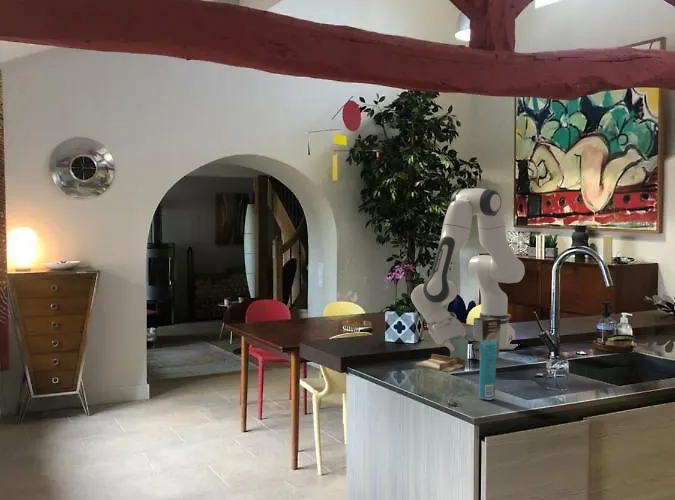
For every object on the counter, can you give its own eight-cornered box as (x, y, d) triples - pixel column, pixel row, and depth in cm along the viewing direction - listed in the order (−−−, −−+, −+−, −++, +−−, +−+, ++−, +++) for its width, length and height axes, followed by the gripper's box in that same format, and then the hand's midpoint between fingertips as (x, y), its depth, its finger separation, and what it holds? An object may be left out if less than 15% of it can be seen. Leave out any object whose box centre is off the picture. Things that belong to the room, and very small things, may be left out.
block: (456, 358, 284) (456, 338, 283) (467, 360, 281) (468, 340, 280) (449, 360, 280) (450, 340, 279) (461, 362, 277) (462, 342, 276)
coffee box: (482, 361, 280) (484, 320, 279) (471, 357, 285) (472, 318, 284) (499, 358, 285) (501, 318, 284) (487, 355, 291) (489, 316, 289)
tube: (487, 395, 233) (490, 337, 231) (499, 398, 229) (502, 339, 227) (472, 399, 228) (475, 339, 226) (484, 402, 224) (487, 342, 223)
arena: (434, 359, 281) (434, 353, 281) (466, 365, 273) (466, 359, 273) (415, 365, 270) (415, 359, 270) (448, 372, 262) (448, 365, 262)
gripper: (430, 318, 275) (452, 347, 270) (456, 312, 291) (477, 340, 286) (420, 328, 278) (441, 357, 273) (446, 322, 294) (466, 349, 289)
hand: (460, 348), depth 280 cm, fingers open, 8 cm apart
